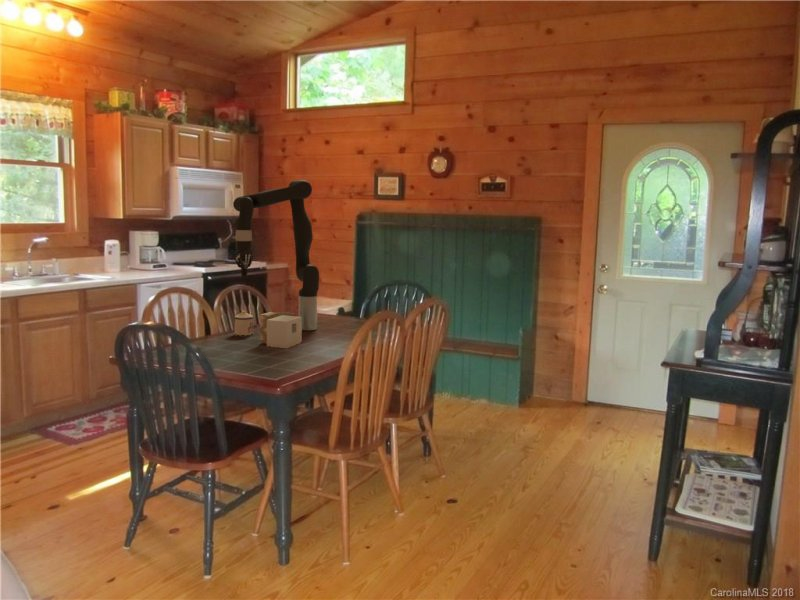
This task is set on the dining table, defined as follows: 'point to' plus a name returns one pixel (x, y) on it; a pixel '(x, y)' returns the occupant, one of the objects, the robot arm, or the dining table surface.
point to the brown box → (263, 325)
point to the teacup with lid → (243, 324)
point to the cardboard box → (284, 331)
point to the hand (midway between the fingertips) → (244, 276)
